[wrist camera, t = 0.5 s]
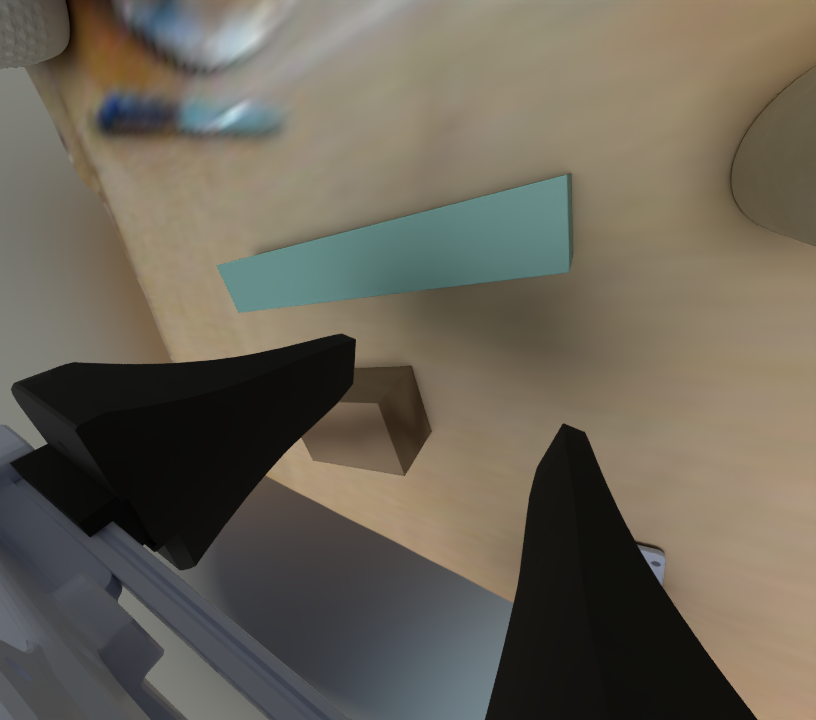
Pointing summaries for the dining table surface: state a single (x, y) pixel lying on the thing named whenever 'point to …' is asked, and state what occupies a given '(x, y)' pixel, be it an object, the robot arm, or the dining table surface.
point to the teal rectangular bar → (417, 251)
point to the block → (373, 423)
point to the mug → (32, 31)
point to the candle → (781, 164)
